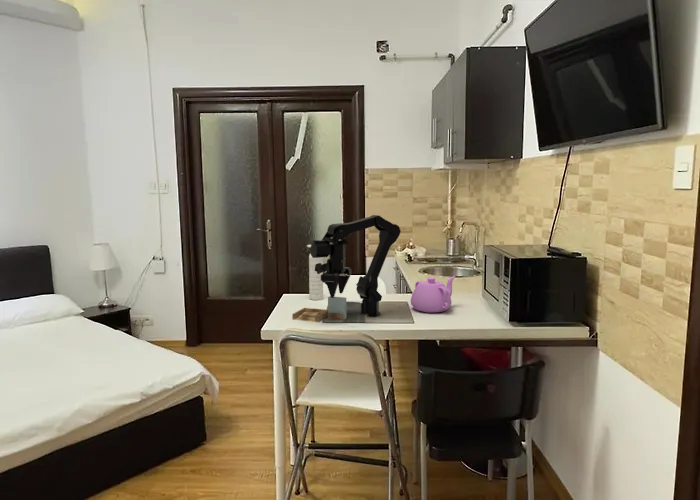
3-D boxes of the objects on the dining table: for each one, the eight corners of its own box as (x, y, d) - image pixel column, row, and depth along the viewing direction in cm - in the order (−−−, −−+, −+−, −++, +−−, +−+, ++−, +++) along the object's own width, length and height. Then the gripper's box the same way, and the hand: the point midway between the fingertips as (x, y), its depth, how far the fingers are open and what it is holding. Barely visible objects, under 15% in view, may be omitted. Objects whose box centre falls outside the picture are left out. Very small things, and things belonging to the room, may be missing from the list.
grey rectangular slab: (346, 319, 207) (346, 297, 206) (344, 321, 205) (344, 298, 204) (329, 318, 209) (329, 296, 208) (328, 319, 208) (327, 297, 206)
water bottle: (326, 298, 244) (325, 245, 241) (315, 301, 240) (315, 247, 237) (314, 295, 251) (313, 244, 247) (303, 298, 246) (302, 245, 243)
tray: (329, 317, 211) (329, 309, 211) (318, 323, 201) (318, 316, 200) (304, 314, 215) (304, 307, 214) (292, 321, 205) (292, 313, 204)
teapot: (471, 311, 221) (472, 279, 219) (431, 317, 210) (432, 284, 208) (437, 301, 240) (438, 271, 238) (399, 306, 229) (399, 275, 227)
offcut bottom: (320, 317, 208) (320, 314, 207) (315, 320, 203) (315, 318, 203) (304, 315, 210) (304, 313, 210) (298, 318, 205) (298, 316, 205)
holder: (346, 318, 209) (346, 311, 208) (341, 321, 204) (341, 314, 203) (332, 317, 211) (332, 310, 210) (327, 320, 206) (327, 313, 205)
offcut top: (319, 315, 207) (319, 312, 207) (316, 317, 203) (316, 315, 203) (304, 314, 209) (304, 311, 208) (301, 316, 204) (301, 314, 204)
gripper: (326, 252, 215) (326, 289, 217) (307, 258, 198) (308, 298, 200) (352, 253, 212) (352, 291, 214) (335, 259, 194) (335, 301, 196)
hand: (336, 295), depth 206 cm, fingers open, 9 cm apart
